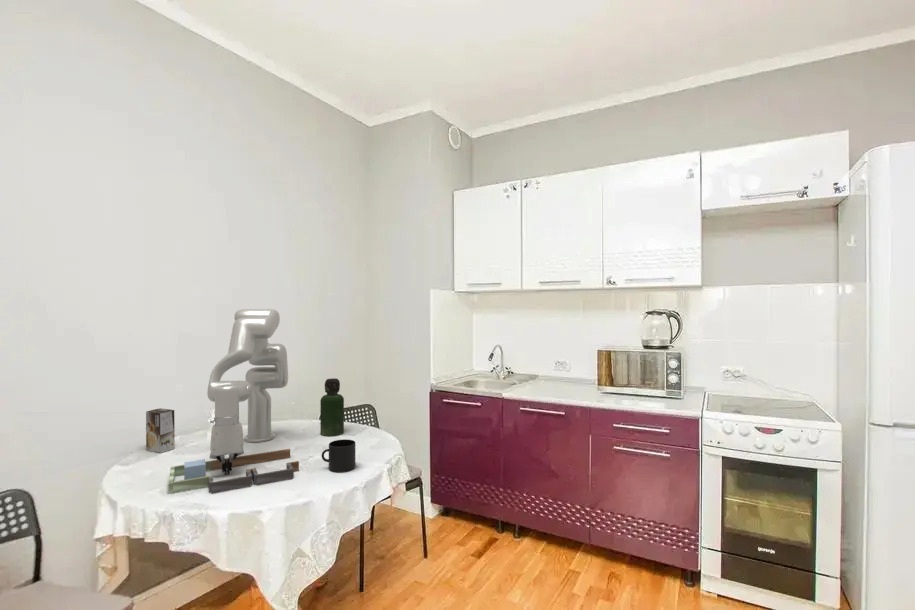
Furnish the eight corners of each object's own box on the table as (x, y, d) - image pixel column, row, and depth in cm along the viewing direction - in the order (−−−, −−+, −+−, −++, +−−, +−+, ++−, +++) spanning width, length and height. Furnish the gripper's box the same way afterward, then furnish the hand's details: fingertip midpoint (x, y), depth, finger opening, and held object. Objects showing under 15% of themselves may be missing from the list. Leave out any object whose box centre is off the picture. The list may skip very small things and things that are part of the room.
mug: (324, 464, 168) (324, 439, 168) (357, 463, 170) (357, 438, 170) (318, 473, 159) (318, 447, 159) (353, 472, 160) (353, 446, 160)
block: (184, 480, 153) (184, 462, 153) (204, 476, 156) (204, 459, 156) (184, 486, 148) (184, 467, 148) (205, 482, 151) (205, 464, 151)
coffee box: (175, 448, 187) (175, 409, 187) (160, 453, 181) (160, 413, 181) (160, 446, 190) (160, 407, 190) (144, 450, 184) (145, 411, 184)
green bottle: (333, 429, 216) (333, 376, 216) (348, 432, 210) (348, 378, 210) (315, 434, 208) (315, 379, 208) (330, 438, 202) (330, 381, 202)
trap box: (170, 476, 157) (170, 466, 157) (289, 456, 176) (289, 448, 176) (167, 501, 136) (167, 491, 136) (302, 476, 156) (302, 467, 156)
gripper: (202, 425, 151) (202, 481, 151) (251, 420, 158) (251, 472, 158) (202, 420, 157) (202, 473, 157) (249, 415, 165) (249, 466, 165)
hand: (227, 473), depth 158 cm, fingers closed
